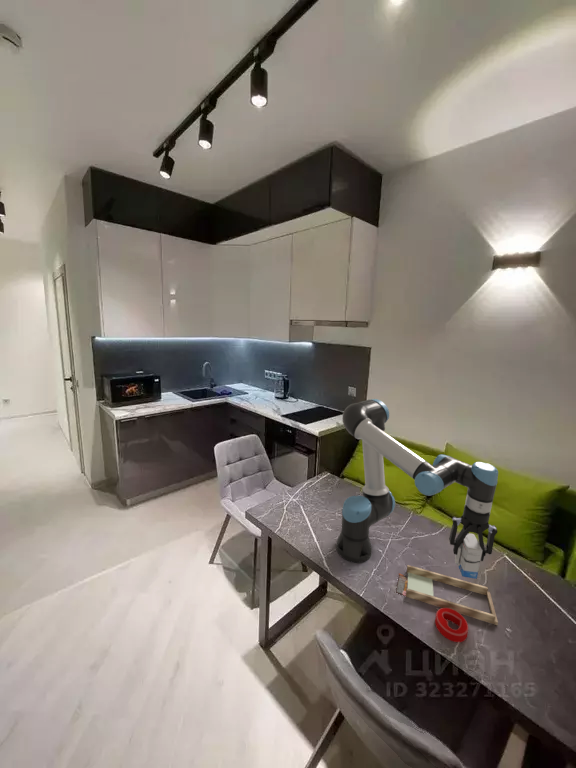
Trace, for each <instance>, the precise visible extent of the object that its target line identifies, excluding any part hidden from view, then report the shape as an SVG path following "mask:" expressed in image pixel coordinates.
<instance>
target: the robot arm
mask: <svg viewBox="0 0 576 768" xmlns="http://www.w3.org/2000/svg"><path fill="white" fill-rule="evenodd" d="M389 419H390V411H389V408H388V406H387V404H385V402H384V401H382V400H381V399H377V398H371V399H366V400H362V401H359V402H355V403H351V404H349V405H347V407H346V408H345V409H344V411H343V412H342V424H343V426H344V428H345V429H346V431H347V432H348V433H349V435H351V436H352V437H353V438H355V439H357V440H361V442H362V455H363V469H364V482H365V483H364V486H363V487H362V488H361V491H362V495H351V496H348V497H347V498H346V499H345V500H344V502H343V504H342V509H341V531H340V533H339V536H338V538H337V540H336V546H335V547H336V550H337V551H338V552H337V551H336V552H337V554H338V555H339V554H340V555H341V556H342V558H343V559H344V560H346V561H348V562H351V561H352V562H351V563H364V562H367V561H368V560H369V559H370V558H371V556H372V553H373V552H372V550H373V549H372V548H373V546H372V543H371V539H370V536H369V535H370V534H369V533H370V527H372V526H373V525H375V524H376V523H378V522H379V521H382V520H383V519H385V518H387V517H389V516H390V514H393V512H394V510H395V507H396V499H395V497H394V495H393V493H392V492H391V491H390V489H389V487H388V486H387V485H386V479H385V478H386V477H385V467H384V466H385V465H384V458H385V459H386V460H388V461H389V462H391V463H392V464H393V465H394V466H396V467H397V468H399V469H400V470H402V471H403V473H404V474H407V475H408V476H409V477H410V478H412V479H413V480H414V486H415V487H416V489H417V490H418V491H419V493H421V494H422V495H425V496H428V497H429V496H433V495H435V494H439V493H440V492H442V491H443V490H444V489H446V488H447V487H448V486H451V485H452V484H454V483H456V484H459V485H461V486H463V487H465V488H467V490H466V491H467V492H466V496H465V497H466V498H465V504H464V507H463V513H462V515H461V516H460V517H456V516H451V517H452V518H451V519H452V525H451V530H450V534H449V538H448V539H449V545H450V546H453V554H454V562H455V565H457V566H458V563H459V558H460V553H461V546H460V545H461V543H462V542H463V540H464V539H465V537H466V535H467V534H469V533H473V534H474V533H475V534H477V540H478V543H479V545H480V547H481V549H482V556H481V561H480V562H484V559H485V557H486V556H487V554H488V555H492V554H493V547H494V542H495V536H496V535H497V534H498V530H497V526H496V525H491V524H489V521H490V516H491V510H492V507H493V502H494V497H495V492H496V488H497V484H498V476H499V470H498V469H497V467H495V465H492V464H490V463H487V462H483V461H476V462H474V463H472V464H469V463H467V462H464V461H461V460H460V459H457V458H454V457H453V456H450V455H446V454H438V455H437V456H436V457H435V459H434V460H433V463H432V464H431V463H429V462H428V461H427V460H425V459H423V458H422V457H420V455H418V454H416V453H415V452H413V451H412V450H411V449H409V448H408V447H407V446H405V445H404V444H402V443H401V442H399V441H398V440H396V439H395V438H393V437H392V436H391V435H389V434H388V433H386V427H385V424H386V423H387V421H388V420H389ZM460 524H462V528H461V530H460V532H459V533H458V529H459V527H458V526H460ZM486 530H487V531H488V534H487V541H486V545H485V541H484V535H483V532H485V531H486ZM457 533H458V535H457ZM456 535H457V536H456ZM340 555H339V556H340ZM341 556H340V557H341Z"/></svg>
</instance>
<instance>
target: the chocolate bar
mask: <svg viewBox="0 0 576 768" xmlns="http://www.w3.org/2000/svg"><path fill="white" fill-rule="evenodd" d="M396 586H397V588H396V587H395V590H396V593H398V594H397V595H399V594H400V595H399V596H402V595H403V596H402V597H405V596H406V590H407V588H408V577H407V576H405V575H404V574H401V573H398V578H397V582H396Z"/></svg>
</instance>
